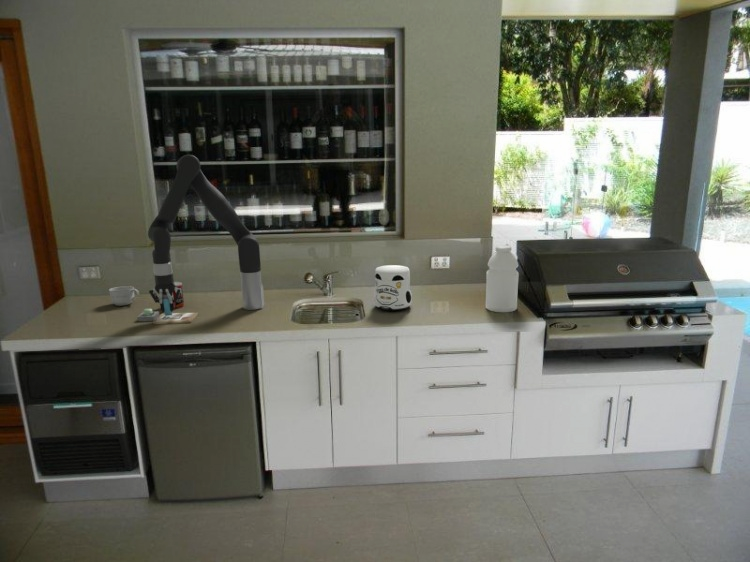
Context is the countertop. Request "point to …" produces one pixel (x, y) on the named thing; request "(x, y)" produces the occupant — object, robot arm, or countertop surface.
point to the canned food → (181, 300)
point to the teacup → (123, 295)
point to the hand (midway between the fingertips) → (167, 311)
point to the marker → (166, 305)
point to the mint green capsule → (148, 312)
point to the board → (176, 318)
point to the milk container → (392, 287)
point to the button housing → (148, 317)
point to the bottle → (502, 281)
